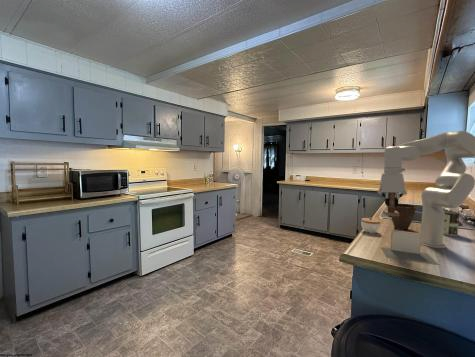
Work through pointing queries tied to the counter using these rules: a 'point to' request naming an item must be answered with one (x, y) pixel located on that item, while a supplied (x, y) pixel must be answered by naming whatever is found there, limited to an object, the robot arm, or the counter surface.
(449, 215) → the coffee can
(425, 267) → the counter surface
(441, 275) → the counter surface
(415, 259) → the mat
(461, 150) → the robot arm
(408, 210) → the plant pot
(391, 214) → the wooden pedestal stand
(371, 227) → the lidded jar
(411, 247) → the tile
